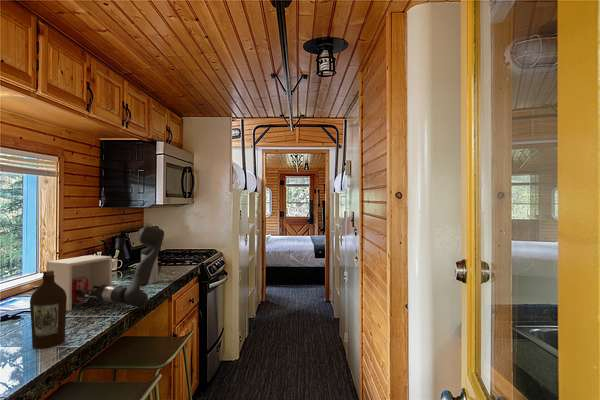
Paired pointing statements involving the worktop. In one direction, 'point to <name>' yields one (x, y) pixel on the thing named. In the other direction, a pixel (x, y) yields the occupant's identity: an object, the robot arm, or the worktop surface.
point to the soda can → (79, 284)
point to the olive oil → (48, 313)
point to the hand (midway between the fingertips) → (85, 290)
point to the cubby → (81, 272)
